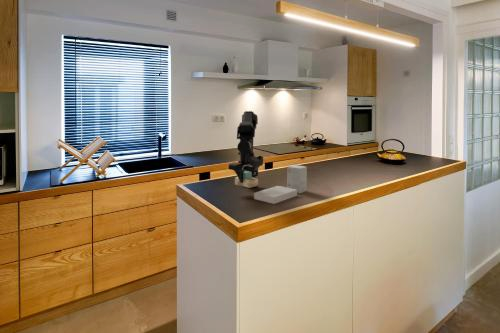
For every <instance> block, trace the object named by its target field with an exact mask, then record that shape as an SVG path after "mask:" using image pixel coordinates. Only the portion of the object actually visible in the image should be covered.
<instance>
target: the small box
mask: <svg viewBox="0 0 500 333" xmlns="http://www.w3.org/2000/svg"><path fill="white" fill-rule="evenodd" d="M286 169H287V170H286V171H287V173H286V176H287V177H286V188H291V189H296V190H297V194H302V193H305V192H307V184H308V183H307V178H308V174H307V173H308V171H307V169H308V167H307V166H304V165H303V166H302V165H298V164H293V165H288V166H287V168H286Z"/></svg>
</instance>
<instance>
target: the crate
mask: <svg viewBox="0 0 500 333" xmlns="http://www.w3.org/2000/svg"><path fill="white" fill-rule="evenodd" d="M249 178H252V172H249V171H244V173H243V179H249Z"/></svg>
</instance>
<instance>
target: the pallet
mask: <svg viewBox="0 0 500 333" xmlns="http://www.w3.org/2000/svg"><path fill="white" fill-rule="evenodd" d="M234 185H235V186H239V187H242V186H244V187H243V188H247V187H248V188H247V189H252V188H255V187H254V186H256V187H258V186H259V178H257V177H256V178H253V177H252V178H249V179H243V183H241V182H240V180H239V178H238V176H236V177H234ZM251 187H252V188H251Z"/></svg>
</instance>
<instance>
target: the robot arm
mask: <svg viewBox="0 0 500 333" xmlns="http://www.w3.org/2000/svg"><path fill="white" fill-rule="evenodd" d="M258 120H259V119H258V115H257V114H256V113H255V112H254V111H252V110H249V111H247V110H246V111H244V112H243V114H241V122H239V125H238V126H237V129H236V130H237V131H236V140H239V142H238V144H237V150H238V152H237V155H239V160H238V162H231V163H229V164H228V170H231V171H234V173H235V174H236V177H238V178H239V180H240V182H241V183H243V173H244V171H249V172H252V177H253V178H257V176H259V168H260V167H262V166H264V156H262V155H257V156H255V152H254V138H255V136H256V134H255V133H256V130H257V125H258ZM241 187H243V188H245V187H244V186H241ZM256 187H257V186H254V187H251V188H250V189H252V188H256ZM246 188H247V189H249V188H248V187H246Z"/></svg>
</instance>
